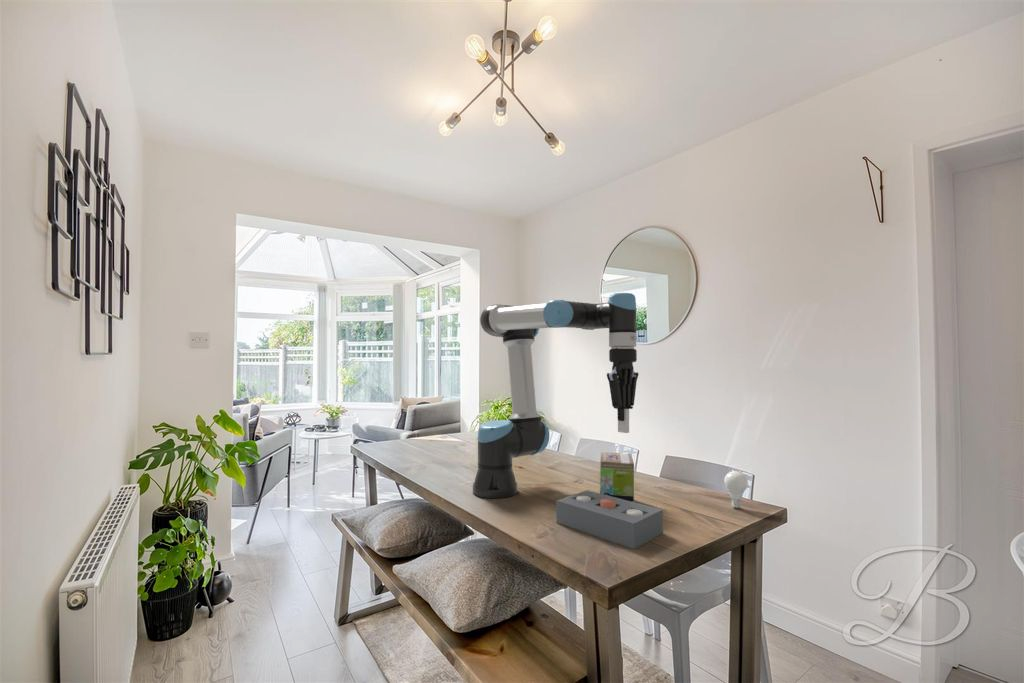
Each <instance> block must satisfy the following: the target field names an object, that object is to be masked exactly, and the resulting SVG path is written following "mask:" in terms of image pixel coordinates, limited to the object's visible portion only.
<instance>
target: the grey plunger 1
mask: <svg viewBox="0 0 1024 683" xmlns="http://www.w3.org/2000/svg"><path fill="white" fill-rule="evenodd" d="M576 500H579V501H583V502H588V501H590V500H591V498H590V497H588V496H577V497H576Z"/></svg>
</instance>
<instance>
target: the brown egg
mask: <svg viewBox="0 0 1024 683" xmlns="http://www.w3.org/2000/svg"><path fill="white" fill-rule="evenodd" d="M600 507H604V508H607V509H613V508H615V507H616V501H615V500H613V499H608V498H605V499H601V500H600Z"/></svg>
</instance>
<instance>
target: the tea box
mask: <svg viewBox="0 0 1024 683" xmlns="http://www.w3.org/2000/svg"><path fill="white" fill-rule="evenodd" d="M599 461H600V464H599V465H600V466H599V468H600V469H599V493H600V494H604V495H608V496H612V497H615V498H619V499H623V500H627V501H631V502H635V500H634V499H635V463H634V459H633V455H632V453H626V452H625V453H624V452H621V453H620V452H609V451H608V452H607V451H606V452H605V451H604V452H603V451H601V453H600V460H599Z"/></svg>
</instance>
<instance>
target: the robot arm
mask: <svg viewBox="0 0 1024 683" xmlns="http://www.w3.org/2000/svg"><path fill="white" fill-rule="evenodd" d="M636 302H637V301H636V295H635V294H633V293H630V292H617V293H612V294H610V295H609V296H608V301H607V302H601V303H590V302H580V301H579V302H578V301H570V300H564V299H552V300H549V301H548V302H541V303H534V304H533V303H532V304H522V305H509V304H508V305H507V304H491V305H489V306H486V307H485V308H484V309H483V310H482V311H481V314H480V318H479V322H480V326H481V328H482V329H483V331H484V332H485V333H486V334H487V335H490V336H492V337H495V338H496V337H499V338H502V343H503V344H502V345H504V346H505V347H506V348H507V355H508V369H509V371H508V372H509V381H510V393H511V394H510V395H511V396H510V397H511V406H512V407H511V408H512V409H511V411H512V414H511V415H510V416H509V417H508V419H500V420H496V419H495V420H489V421H487V422H484V423H481V425H480V426H479V427H478V429H477V430H478V431H477V437H476V438H477V471H476V474H475V478H474V481H473V484H472V494H473V495H474V496H477V497H480V498H486V499H502V498H508V497H512V496H515V495H517V493H518V483H517V482H516V477H515V473H514V470H513V459H515V458H520V457H527V456H534V455H537V454H540V453H543V451H545V450H546V448H547V447H548V444H549V442H550V435H551V434H550V430H549V429H550V428H549V427H548V426H547V423H546V422H544V421H543V420H542V415H541V414H539V412H538V411H537V403H536V393H535V392H536V388H535V378H534V369H533V368H534V367H533V355H532V345H533V344H534V342H535V337H537V335H538V334H539V331H540V329H551V328H554V329H555V328H557V329H558V328H559V329H560V328H562V329H563V328H569V329H570V328H571V329H581V330H587V331H588V330H590V331H594V330H600V329H608V347H609V351H608V358H609V359H608V360H609V362H610V363H612V367H611V370H612V371H611V372H610V373H609V372H607V373H606V378H607V380H608V384H609V392H610V397H611V400H610V401H611V405H612V407H613V408H614V409H616V411H617V432H618V433H622V434H628V433H630V410H632V409H633V408H634V405H635V401H636V400H635V397H636V389H637V382H638V377H639V372H636V371H634V365H633V363H636V362H637V358H638V357H637V356H638V354H637V351H638V350H637V349H636V347H637V339H638V337H637V310H638V308H637V303H636Z"/></svg>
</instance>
